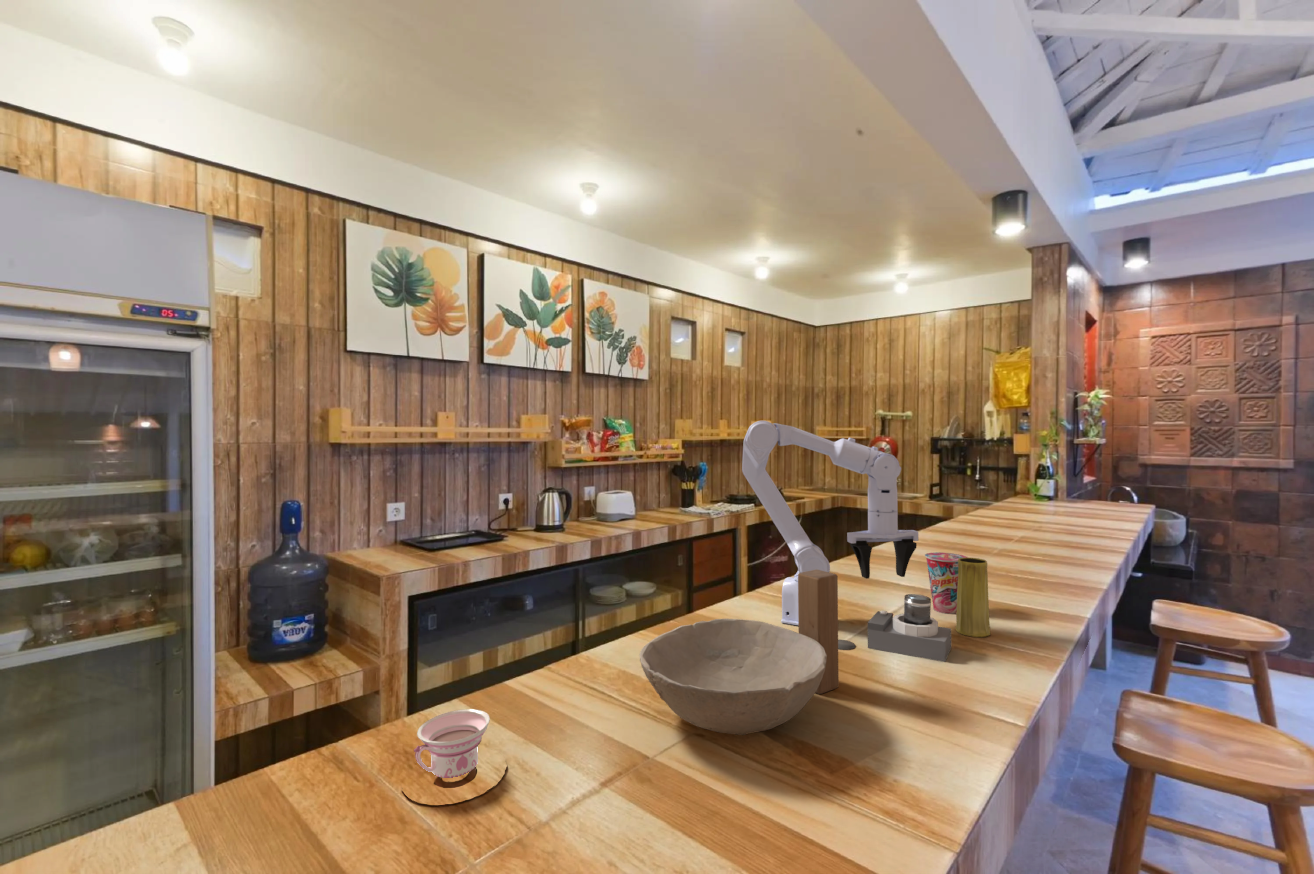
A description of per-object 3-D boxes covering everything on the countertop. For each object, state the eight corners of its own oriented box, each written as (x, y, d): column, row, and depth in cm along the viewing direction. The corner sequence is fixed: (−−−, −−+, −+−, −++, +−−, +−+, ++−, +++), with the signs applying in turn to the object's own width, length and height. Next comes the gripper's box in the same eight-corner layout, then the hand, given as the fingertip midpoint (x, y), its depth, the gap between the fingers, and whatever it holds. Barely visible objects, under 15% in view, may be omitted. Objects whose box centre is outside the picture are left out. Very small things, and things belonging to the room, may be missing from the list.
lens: (910, 634, 108) (911, 600, 107) (899, 625, 112) (900, 593, 112) (934, 634, 108) (935, 600, 107) (922, 625, 112) (923, 593, 112)
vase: (982, 627, 121) (981, 556, 121) (996, 638, 115) (995, 563, 115) (950, 626, 122) (950, 556, 122) (963, 637, 116) (962, 563, 116)
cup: (928, 614, 130) (927, 559, 130) (922, 603, 138) (922, 551, 138) (976, 617, 127) (975, 561, 127) (967, 606, 135) (967, 553, 135)
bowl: (671, 787, 69) (670, 701, 69) (622, 690, 95) (622, 627, 94) (870, 751, 76) (870, 672, 76) (775, 670, 102) (774, 611, 101)
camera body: (867, 647, 111) (867, 619, 111) (878, 634, 118) (877, 608, 118) (945, 661, 104) (944, 631, 104) (951, 647, 111) (951, 618, 111)
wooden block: (777, 675, 99) (776, 567, 99) (796, 669, 102) (795, 563, 101) (820, 695, 92) (818, 578, 92) (839, 688, 94) (838, 573, 94)
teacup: (471, 740, 80) (470, 694, 80) (527, 772, 73) (526, 721, 73) (382, 781, 71) (380, 729, 71) (435, 823, 64) (434, 765, 63)
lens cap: (824, 648, 112) (824, 645, 112) (832, 640, 116) (832, 637, 116) (851, 653, 109) (851, 650, 109) (858, 645, 113) (858, 642, 113)
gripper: (857, 514, 119) (858, 583, 119) (926, 512, 120) (927, 579, 121) (842, 509, 126) (843, 574, 126) (907, 507, 127) (908, 571, 128)
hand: (883, 576), depth 124 cm, fingers open, 7 cm apart
